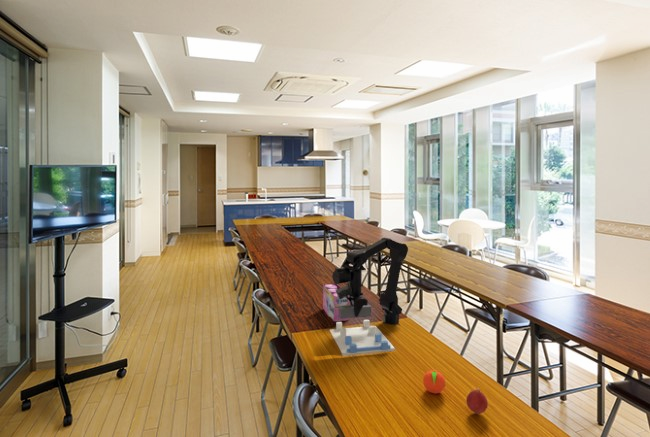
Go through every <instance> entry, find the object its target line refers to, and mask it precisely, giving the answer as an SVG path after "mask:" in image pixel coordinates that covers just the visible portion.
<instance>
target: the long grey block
mask: <svg viewBox="0 0 650 437" xmlns="http://www.w3.org/2000/svg"><path fill="white" fill-rule="evenodd" d="M339 317H340V319H346V318H349V319H358V318H370V317H372V306H371V305H370V304H369V303H368V305H365V306H363V307H362V309H361V311H360V313H359V315H358V317H355V313H354V307H353V305H350V304H349V305H345V306H339Z"/></svg>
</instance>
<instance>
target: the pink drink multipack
mask: <svg viewBox="0 0 650 437" xmlns="http://www.w3.org/2000/svg"><path fill="white" fill-rule="evenodd" d="M322 286H323V287H322V300H323V301H322V308H323V310H324V312H325V314H326V315H327V316H328V318H329V317H330V318H331V319H332V321H334V322H342V321H343V322H344V321H350V318H346V319H340V317H339V306H345V305H350V301H349V300H348V299H347V298H346V297H344V298H343V299H339V297H338V296H337V293H336V290H337V289H339V288H341V287H342V286H340V284H335V283H334V282H333V284H330V283H329V284H325V283H323V284H322Z"/></svg>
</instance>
